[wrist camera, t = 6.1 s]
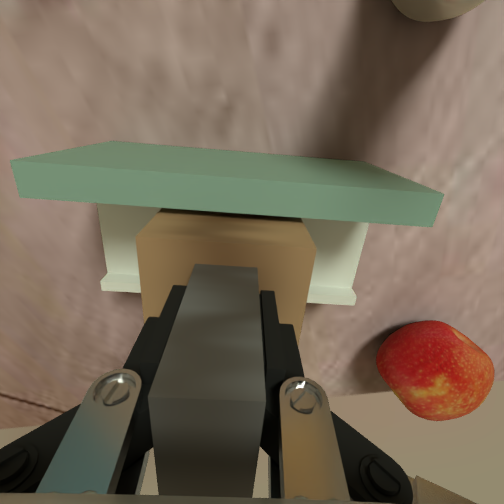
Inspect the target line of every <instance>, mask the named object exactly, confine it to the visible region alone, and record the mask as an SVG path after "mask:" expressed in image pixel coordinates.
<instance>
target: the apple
mask: <svg viewBox="0 0 504 504" xmlns="http://www.w3.org/2000/svg"><path fill="white" fill-rule="evenodd" d="M376 364H377V368H378V370H379V373H380V375H381V376H382V378H383V379H384V381H385V382H386V383H387V384H388V385H389V387H390V388H391V389H392V391H393V392H394V394H395V395H396V396H397V397H398V398H399V400H400V401H401V402H402V403H403V404H404V405H405V407H406V408H407V409H408V410H409V411H410V412H412V413H413V414H415V415H417V416H418V417H421V418H424V419H427V420H433V421H444V420H450V419H454V418H459V417H462V416H464V415H466V414H469V413H471V412H472V411H473V410H475V409H476V408H478V407H479V406H480V405H481V404H482V403H483V401H484V400H485V398H486V397H487V395H488V394H489V392H490V390H491V387H492V385H493V381H494V366H493V363H492V361H491V359H490V358H489V356H488V355H487V354H486V353H485V352H484V351H483V350H482V349H481V348H479V347H478V346H477V345H476V344H475V343H473V342H472V341H471V340H470V339H469V338H468V337H466V336H465V335H463V334H462V333H460V332H459V331H458V330H456V329H455V328H453V327H451V326H449V325H448V324H446V323H443V322H440V321H433V320H430V321H420V322H415V323H410V324H408V325H405V326H403V327H402V328H400V329H398V330H397V331H395V332H393V333H392V334H391V335H390V336H389V337H388V338H387V339H385V341H384V342H383V343H382V345H381V347H380V348H379V350H378V353H377V357H376Z"/></svg>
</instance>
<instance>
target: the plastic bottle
mask: <svg viewBox="0 0 504 504" xmlns="http://www.w3.org/2000/svg"><path fill="white" fill-rule="evenodd" d="M484 1H485V0H392V2H393V4H394V5H395V6H396V8H397V9H398V10H399V11H400V12H401V13H403V14H404V15H405V16H407V17H408V18H411V19H413V20H416V21H421V22H433V21H440V20H446V19H451V18H454V17H457V16H460V15H463V14H465V13H466V12H468V11H470V10H472V9H474V8H475V7H477V6H478V5H480V4H481V3H482V2H484Z"/></svg>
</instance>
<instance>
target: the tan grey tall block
mask: <svg viewBox="0 0 504 504" xmlns="http://www.w3.org/2000/svg"><path fill="white" fill-rule="evenodd" d="M135 239H136V248H137V258H138V268H139V277H140V287H141V297H142V306H143V316H144V324H145V322H146V320H147V318H148V317H159V316H160V314H161V312H162V309H163V307H164V305H165V302H166V300H167V298H168V296H169V293H170V291H171V289H172V286H173V285H185V286H187V288H186V290H185V293H184V296H183V299H182V302H181V305H180V307H179V310H178V313H177V316H176V319H175V321H174V324H173V327H172V330H171V333H170V336H169V338H168V341H167V344H166V347H165V350H164V352H163V355H162V358H161V361H160V364H159V367H158V369H157V372H156V375H155V378H154V381H153V383H152V386H151V389H150V392H149V395H148V403H149V412H150V421H151V430H152V439H153V448H154V457H155V465H156V474H157V483H158V492H159V495H163V496H204V497H242V498H252V495H253V488H254V481H255V474H256V467H257V460H258V453H259V447H260V440H261V433H262V426H263V419H264V413H265V406H266V392H265V377H264V361H263V346H262V330H261V315H260V299H259V293H260V291H261V290H270V291H274V292H275V298H276V305H277V312H278V318H279V323H281V324H292V325H293V327H294V331H295V335H296V340H297V345H298V344H299V339H300V334H301V328H302V323H303V318H304V313H305V308H306V303H307V297H308V292H309V287H310V282H311V277H312V272H313V266H314V261H315V256H316V251H317V248H316V246H315V244H314V242H313V240H312V238H311V236H310V234H309V232H308V231H307V229H306V227H305V225H304V223H303V221H302V219H301V218H297V217H283V216H269V215H255V214H242V213H228V212H214V211H200V210H186V209H172V208H161V209H160V211H159V212H158V213H157V214H156V215H155V216H154V217H153V218H152V219H151V220H150V221H149V222H148V223H147V225H146V226H145V227H144V228H143V229H142V230H141V231H140V232H139V233H138V234H137V235H136V236H135Z"/></svg>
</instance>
